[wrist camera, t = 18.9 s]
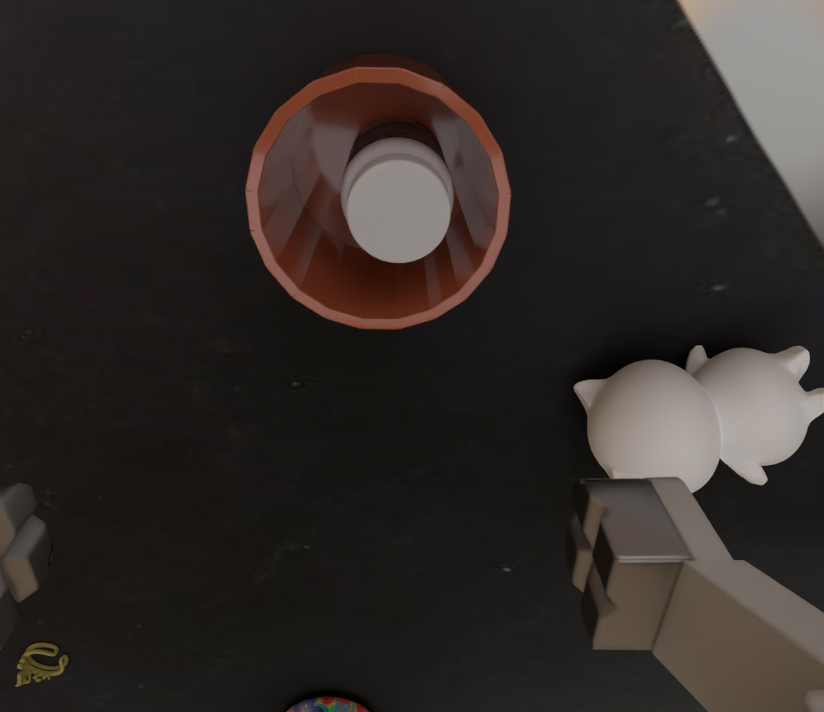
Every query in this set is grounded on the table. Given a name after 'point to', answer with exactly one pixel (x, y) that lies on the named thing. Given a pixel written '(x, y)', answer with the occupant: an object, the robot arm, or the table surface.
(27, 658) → the ring
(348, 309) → the cup
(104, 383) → the table surface
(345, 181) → the pill bottle
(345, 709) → the mug
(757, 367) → the cat figurine
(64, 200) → the table surface
